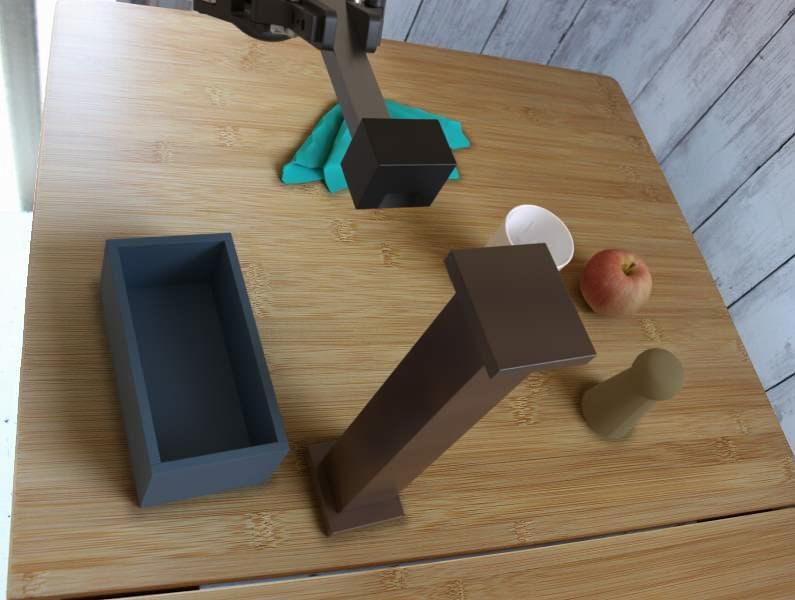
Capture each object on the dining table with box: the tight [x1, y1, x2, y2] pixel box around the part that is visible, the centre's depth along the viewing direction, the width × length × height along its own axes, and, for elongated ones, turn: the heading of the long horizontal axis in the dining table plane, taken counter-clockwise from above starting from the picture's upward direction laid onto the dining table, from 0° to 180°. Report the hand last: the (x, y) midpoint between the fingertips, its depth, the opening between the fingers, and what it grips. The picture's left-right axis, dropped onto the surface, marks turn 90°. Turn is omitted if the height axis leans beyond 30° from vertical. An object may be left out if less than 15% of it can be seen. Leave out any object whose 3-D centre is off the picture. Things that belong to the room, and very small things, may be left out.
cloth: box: [281, 99, 471, 194], centre depth 96 cm, size 26×14×2 cm, turn 112°
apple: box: [579, 248, 653, 320], centre depth 94 cm, size 8×8×8 cm
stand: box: [303, 243, 598, 539], centre depth 61 cm, size 8×7×32 cm
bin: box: [98, 232, 291, 509], centre depth 70 cm, size 21×11×8 cm, turn 19°
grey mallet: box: [318, 0, 458, 211], centre depth 46 cm, size 16×4×4 cm, turn 19°
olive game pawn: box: [580, 347, 686, 440], centre depth 84 cm, size 6×6×11 cm
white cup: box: [484, 203, 575, 272], centre depth 88 cm, size 8×8×10 cm
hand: (351, 33), depth 46 cm, fingers closed on grey mallet, 2 cm apart
